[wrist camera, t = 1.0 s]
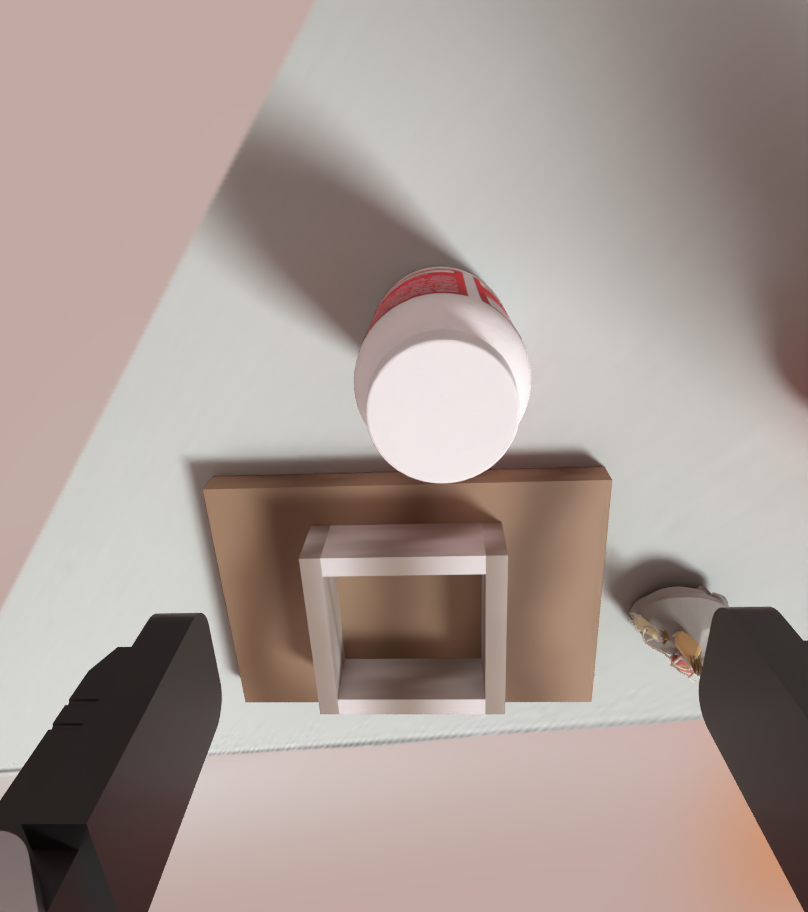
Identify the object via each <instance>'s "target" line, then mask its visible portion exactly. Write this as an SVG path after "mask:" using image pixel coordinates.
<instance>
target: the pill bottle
mask: <svg viewBox="0 0 808 912" xmlns="http://www.w3.org/2000/svg"><path fill="white" fill-rule="evenodd" d="M354 391H355V398H356V402H357V405H358V408H359V411H360V414H361V416H362V418H363V420H364V422H365V424H366V425H367V427H368V431H369V434H370V437H371V439H372V441H373V443H374V445H375V447H376V449H377V450H378V452H379V453H380V454H381V456H382V457H383V458H384V459H385V460H386V461H387V462H388V463H389V464H390V465H391V466H393V467H394V468H395V469H396V470H398V471H400V472H401V473H403V474H405V475H407V476H409V477H411V478H414V479H417V480H420V481H424V482H431V483H453V482H459V481H463V480H466V479H469V478H472V477H474V476H477V475H479V474H481V473H482V472H484V471H486V470H487V469H489V468H490V467H491V466H493V465H494V464H495V463H496V462H497V461H498V460H499V459H500V458H501V457H502V456H503V455H504V454H505V452H506V451H507V450H508V448H509V447H510V445H511V443H512V441H513V439H514V437H515V434H516V431H517V428H518V424H519V422H520V421H521V419H522V417H523V414H524V412H525V410H526V407H527V404H528V401H529V397H530V391H531V368H530V362H529V358H528V355H527V351H526V349H525V346H524V344H523V342H522V339H521V337H520V335H519V333H518V332H517V330H516V329H515V327H514V325H513V323H512V322H511V320H510V318H509V316H508V315H507V313H506V311H505V309H504V307H503V305H502V303H501V302H500V300H499V299H498V297H497V296H496V294H495V293H494V292H493V290H492V289H491V288H490V287H489V286H488V285H487V284H486V283H485V282H483V281H482V280H481V279H479V278H478V277H476V276H474V275H472V274H470V273H468V272H466V271H464V270H460V269H457V268H452V267H430V268H425V269H421V270H418V271H415V272H413V273H411V274H409V275H407V276H405V277H404V278H402V279H401V280H399V281H398V282H397V283H396V284H395V285H394V286H393V287H392V288H391V289H390V290H389V291H388V292H387V293H386V295H385V296H384V297H383V299H382V301H381V302H380V304H379V306H378V308H377V310H376V312H375V315H374V317H373V320H372V322H371V324H370V327H369V329H368V331H367V333H366V336H365V338H364V340H363V343H362V345H361V348H360V351H359V354H358V357H357V361H356V366H355V372H354Z"/></svg>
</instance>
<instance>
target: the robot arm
mask: <svg viewBox="0 0 808 912" xmlns="http://www.w3.org/2000/svg"><path fill="white" fill-rule="evenodd" d="M221 701H222V692H221V683H220V678H219V673H218V668H217V663H216V659H215V654H214V649H213V644H212V639H211V634H210V629H209V624H208V621H207V618H206V616H205V615H204V614H203V613H165V614H154V615H152V616H151V617H150V619H149V620H148V621H147V623H146V625H145V626H144V628H143V629H142V631H141V633H140V634H139V636H138V637H137V639H136V641H135V642H134V644H133V645H132V647H117V648H116V649H115V650H114V651H112V652H111V653H110V654H109V655H108V656H106V657H105V658H104V659H103V660H101V661H100V662H99V663H98V664H97V665H95V666H94V667H93V668H92V669H91V670H89V671H88V673H87V674H86V675H85V677H84V678H83V680H82V681H81V683H80V684H79V686H78V687H77V689H76V690H75V692H74V693H73V695H72V696H71V697H70V699H69V704H68V705H65V706H64V708H63V709H62V711H61V712H60V714H59V715H58V717H57V718H56V719H55V721H54V722H53V728H52V730H48V731H47V733H46V734H45V736H44V737H43V739H42V740H41V741H40V743H39V744H38V746H37V747H36V749H35V750H34V752H33V753H32V755H31V756H30V758H29V759H28V761H27V762H26V763H25V765H24V766H23V768H22V769H21V771H20V772H19V774H18V775H17V777H16V778H15V780H14V781H13V782H12V784H11V785H10V787H9V789H8V790H7V791H6V793H5V794H4V796H3V797H2V799H1V800H0V912H148V910H149V907H150V905H151V902H152V900H153V897H154V894H155V891H156V889H157V886H158V884H159V881H160V878H161V876H162V873H163V870H164V867H165V865H166V862H167V860H168V857H169V854H170V851H171V849H172V846H173V843H174V841H175V838H176V835H177V833H178V830H179V827H180V825H181V822H182V819H183V817H184V814H185V811H186V809H187V806H188V804H189V801H190V798H191V795H192V793H193V790H194V788H195V784H196V782H197V780H198V777H199V774H200V771H201V769H202V766H203V763H204V761H205V758H206V756H207V753H208V750H209V748H210V745H211V742H212V740H213V737H214V734H215V732H216V729H217V726H218V722H219V718H220V712H221ZM699 701H700V707H701V711H702V715H703V718H704V721H705V723H706V726H707V728H708V730H709V732H710V733H711V735H712V737H713V739H714V741H715V743H716V745H717V747H718V749H719V751H720V752H721V754H722V756H723V758H724V760H725V762H726V764H727V766H728V768H729V769H730V771H731V773H732V775H733V777H734V779H735V781H736V783H737V785H738V786H739V788H740V790H741V792H742V794H743V796H744V798H745V800H746V802H747V804H748V806H749V807H750V809H751V811H752V813H753V815H754V817H755V819H756V821H757V823H758V825H759V826H760V828H761V830H762V832H763V834H764V836H765V838H766V840H767V842H768V843H769V845H770V847H771V849H772V851H773V853H774V855H775V856H776V858H777V860H778V862H779V864H780V866H781V868H782V870H783V872H784V874H785V876H786V878H787V880H788V881H789V883H790V885H791V887H792V889H793V891H794V893H795V895H796V897H797V898H798V900H799V902H800V904H801V906H802V908H803V910H804V912H808V641H803V640H802V639H801V638H800V636H799V635H798V634H797V633H796V632H795V630H794V629H793V628H792V627H791V626H790V624H789V623H788V622H787V621H786V620H785V618H784V617H783V616H782V615H781V614H780V613H779V612H778V611H777V610H776V609H774V608H772V607H721V608H718V609H717V610H716V611H715V612H714V615H713V617H712V621H711V626H710V631H709V636H708V641H707V646H706V651H705V656H704V661H703V666H702V671H701V676H700V681H699Z"/></svg>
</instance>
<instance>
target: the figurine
mask: <svg viewBox="0 0 808 912" xmlns="http://www.w3.org/2000/svg"><path fill="white" fill-rule="evenodd" d="M721 607H729V606H728V601H727V599H726V598H725V597H724V596H723V595H720V594H717V593H710V592H709V590H707V589H706V588H705V587H704V586H700V585H699V586H698V587H697V588H696V589H695V588H688V587H680V586H678V587H668V588H663V589H659V590H657V591H655V592H653V593H651V594H649V595H648V596H645V597H642V598H641V599H639V600H638V601H636V602H635V603H634V604H633V606H632V608H631V611H630V613H629V614H630V615H631V618H632V619H633V620H628V621H631V622H634V624H635V625H634V626H635V630H637V631H639V632H640V633H641V634H642V638H643V641H644V642H645V644H648V645H649V646H650V647H652V648H653V649H655V650H657V651H659V652H661V653H663V654H665V655H666V656H667V657H668V658H669V659H670V660H671V664H670V665H671V666H673V667H674V668H676V669H677V670H678V671H679V672H681V671H684V672H687V673H692V674H691V675H688V674H685V673H683V672H681V673H682V674H684V675H687V676H688V677H689V679H690V677H691V676H694V674H696V675H697V676H698V675H699V676H701V671H702V666H703V661H704V656H705V651H706V646H707V641H708V636H709V631H710V626H711V621H712V617H713V615H714V612H715V611H716V610H717V609H718V608H721ZM644 639H645V640H646V641H645V640H644ZM664 652H665V653H664ZM666 653H667V654H670V655H671V656H670V657H669V656H668V655H667V654H666ZM680 670H681V671H680ZM690 680H691V681H692V682H696V681H693V680H692V679H690Z"/></svg>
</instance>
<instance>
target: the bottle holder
mask: <svg viewBox="0 0 808 912" xmlns="http://www.w3.org/2000/svg"><path fill="white" fill-rule="evenodd" d="M611 487H612V479H611V477H610V475H609V474H608V472H607V470H606V469H605V467H574V468H535V469H495V470H486V471H484V472H482V473H481V474H479V475H477V476H474V477H472V478H469V479H466V480H463V481H459V482H453V483H431V482H424V481H420V480H417V479H414V478H411V477H409V476H407V475H405V474H403V473H401V472H375V473H335V474H295V475H255V476H215V477H212V478H211V479H210V481H209V482H208V483H207V485H206V486H205V487H204V489H203V493H204V498H205V503H206V508H207V513H208V518H209V523H210V528H211V533H212V538H213V543H214V548H215V553H216V558H217V563H218V568H219V573H220V578H221V583H222V587H223V592H224V597H225V602H226V607H227V612H228V617H229V622H230V627H231V632H232V637H233V642H234V647H235V652H236V657H237V662H238V667H239V672H240V677H241V682H242V687H243V692H244V697H245V702H319V708H320V714H505V702H591V700H592V690H593V679H594V668H595V658H596V647H597V636H598V626H599V615H600V604H601V594H602V583H603V572H604V562H605V551H606V540H607V530H608V519H609V508H610V498H611Z"/></svg>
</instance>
